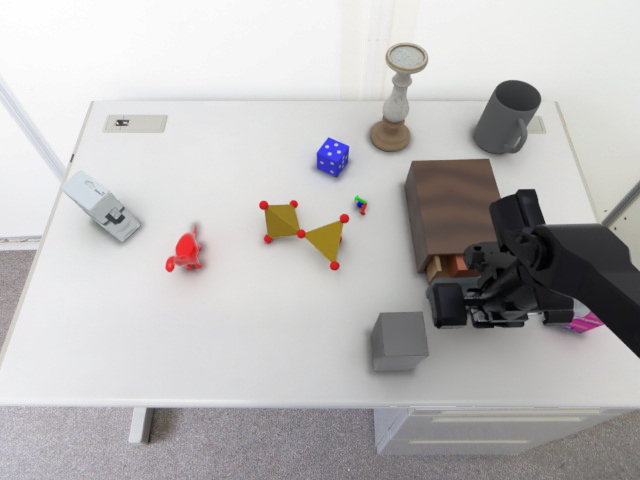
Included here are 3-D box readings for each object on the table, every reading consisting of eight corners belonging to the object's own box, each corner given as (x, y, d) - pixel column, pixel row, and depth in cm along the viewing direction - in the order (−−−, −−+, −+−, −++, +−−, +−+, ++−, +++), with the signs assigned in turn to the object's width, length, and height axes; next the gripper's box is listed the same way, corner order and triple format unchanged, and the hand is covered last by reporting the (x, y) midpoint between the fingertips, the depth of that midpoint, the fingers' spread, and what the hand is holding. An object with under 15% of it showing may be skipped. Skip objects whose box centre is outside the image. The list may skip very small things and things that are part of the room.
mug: (468, 124, 86) (488, 80, 75) (508, 122, 86) (533, 78, 75) (483, 172, 79) (507, 131, 69) (526, 170, 80) (557, 128, 69)
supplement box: (545, 324, 64) (586, 303, 54) (547, 293, 67) (587, 267, 57) (581, 335, 63) (630, 315, 53) (581, 303, 66) (628, 278, 56)
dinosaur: (205, 224, 74) (185, 187, 63) (204, 296, 67) (181, 268, 56) (185, 227, 74) (161, 190, 63) (182, 299, 67) (154, 272, 56)
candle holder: (403, 156, 82) (425, 77, 64) (365, 145, 83) (376, 65, 65) (413, 128, 85) (437, 46, 68) (376, 118, 87) (390, 35, 69)
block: (476, 279, 66) (486, 269, 62) (450, 280, 66) (458, 270, 62) (470, 256, 68) (480, 244, 64) (445, 256, 68) (453, 245, 64)
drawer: (509, 320, 64) (527, 309, 58) (430, 322, 64) (440, 311, 58) (479, 207, 74) (492, 188, 69) (411, 208, 74) (418, 190, 69)
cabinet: (497, 271, 69) (517, 251, 62) (417, 273, 69) (428, 254, 62) (474, 184, 78) (489, 158, 71) (403, 186, 78) (411, 160, 71)
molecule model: (285, 178, 78) (276, 152, 66) (368, 204, 76) (374, 182, 64) (257, 251, 75) (243, 237, 63) (343, 280, 73) (345, 271, 61)
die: (348, 161, 81) (349, 145, 77) (337, 177, 79) (337, 162, 75) (328, 152, 82) (328, 136, 78) (316, 168, 80) (316, 152, 76)
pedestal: (410, 370, 61) (429, 355, 50) (373, 371, 61) (384, 356, 50) (405, 333, 64) (422, 311, 53) (370, 334, 64) (379, 312, 53)
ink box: (93, 221, 75) (56, 186, 64) (113, 204, 77) (79, 167, 66) (122, 243, 72) (88, 211, 62) (142, 225, 74) (112, 190, 64)
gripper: (576, 227, 50) (522, 272, 64) (436, 231, 50) (412, 275, 64) (607, 308, 45) (541, 338, 59) (452, 312, 45) (422, 341, 59)
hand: (477, 320), depth 60 cm, fingers closed, pressing on drawer
